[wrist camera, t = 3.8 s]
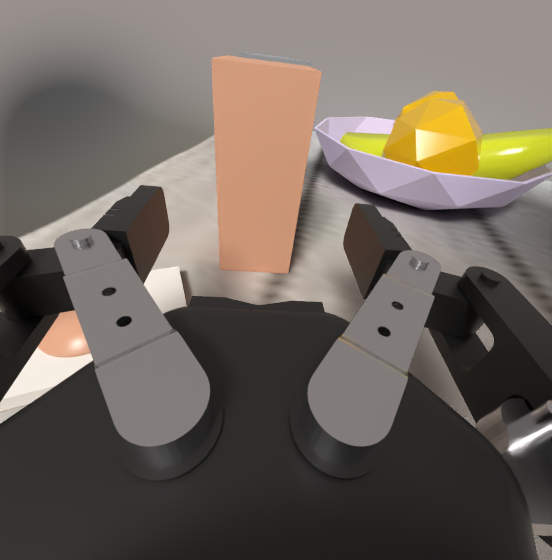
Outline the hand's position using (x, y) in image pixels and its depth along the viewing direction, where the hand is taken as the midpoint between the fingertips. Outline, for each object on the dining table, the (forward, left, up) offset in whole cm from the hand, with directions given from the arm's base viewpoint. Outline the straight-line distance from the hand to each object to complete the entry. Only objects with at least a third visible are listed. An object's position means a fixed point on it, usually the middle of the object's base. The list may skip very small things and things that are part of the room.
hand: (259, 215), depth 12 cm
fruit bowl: (-28, -16, -7) cm, 33 cm away
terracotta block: (-3, -7, -7) cm, 10 cm away
